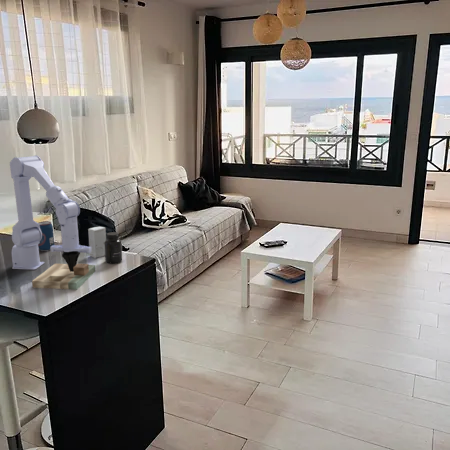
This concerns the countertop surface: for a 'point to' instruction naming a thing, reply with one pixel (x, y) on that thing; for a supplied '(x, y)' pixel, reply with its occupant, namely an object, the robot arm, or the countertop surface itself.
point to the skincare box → (97, 241)
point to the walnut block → (81, 269)
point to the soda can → (46, 236)
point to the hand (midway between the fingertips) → (72, 270)
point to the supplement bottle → (113, 248)
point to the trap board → (61, 278)
